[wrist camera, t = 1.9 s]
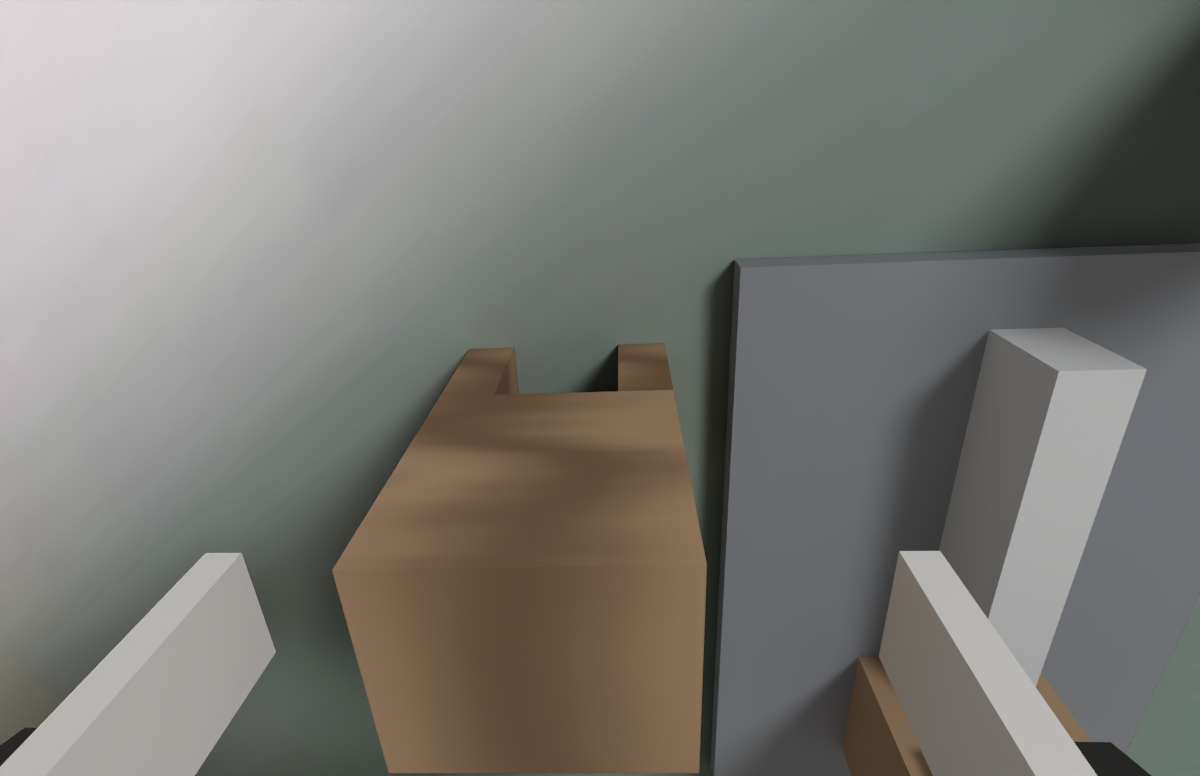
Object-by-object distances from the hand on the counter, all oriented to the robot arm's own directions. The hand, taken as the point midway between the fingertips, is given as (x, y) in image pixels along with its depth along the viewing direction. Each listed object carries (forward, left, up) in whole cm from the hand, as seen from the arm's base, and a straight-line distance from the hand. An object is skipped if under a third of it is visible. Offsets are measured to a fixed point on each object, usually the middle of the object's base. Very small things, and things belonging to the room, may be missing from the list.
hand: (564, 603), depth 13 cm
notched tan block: (0, 0, -8) cm, 8 cm away
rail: (+13, -6, -8) cm, 16 cm away
